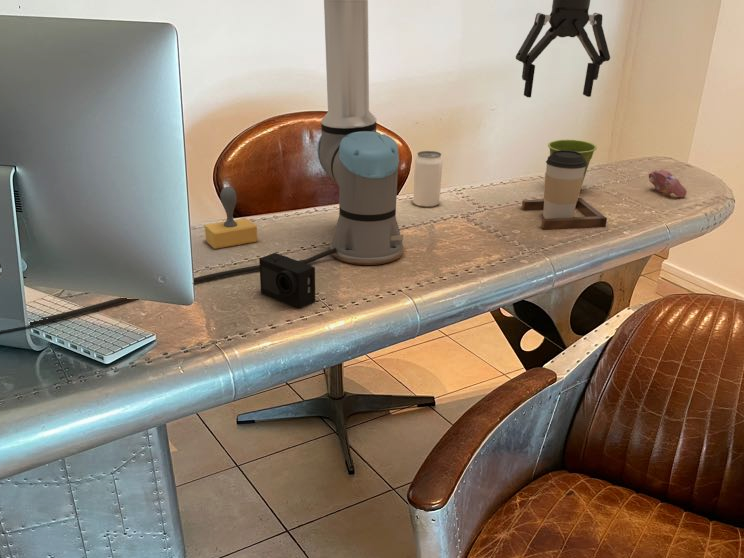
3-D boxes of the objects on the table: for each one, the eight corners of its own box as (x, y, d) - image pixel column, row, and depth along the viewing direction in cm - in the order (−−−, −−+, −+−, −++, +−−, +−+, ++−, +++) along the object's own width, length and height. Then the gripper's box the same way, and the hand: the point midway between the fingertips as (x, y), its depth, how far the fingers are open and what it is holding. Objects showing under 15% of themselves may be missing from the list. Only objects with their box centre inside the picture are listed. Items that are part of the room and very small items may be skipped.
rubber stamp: (214, 249, 172) (210, 193, 165) (205, 241, 176) (200, 186, 170) (258, 242, 175) (255, 187, 169) (247, 233, 180) (244, 180, 173)
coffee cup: (574, 211, 193) (585, 147, 185) (580, 224, 185) (592, 157, 177) (535, 210, 194) (545, 146, 186) (540, 222, 186) (550, 156, 178)
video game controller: (648, 193, 210) (643, 170, 206) (664, 184, 210) (658, 161, 206) (673, 205, 202) (668, 181, 198) (689, 195, 202) (684, 171, 198)
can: (444, 205, 196) (447, 155, 190) (420, 208, 194) (423, 158, 188) (431, 198, 202) (435, 149, 195) (408, 201, 200) (411, 151, 193)
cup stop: (543, 229, 182) (544, 220, 181) (521, 208, 195) (522, 200, 194) (605, 226, 184) (607, 218, 183) (579, 205, 197) (581, 197, 196)
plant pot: (538, 182, 213) (544, 139, 207) (583, 183, 212) (590, 139, 206) (546, 196, 203) (552, 151, 197) (594, 197, 202) (602, 152, 196)
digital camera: (255, 294, 152) (253, 259, 148) (276, 286, 155) (274, 251, 152) (294, 311, 146) (293, 274, 142) (315, 301, 149) (315, 266, 146)
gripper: (623, -14, 171) (604, 91, 182) (509, -15, 168) (497, 93, 179) (639, -11, 165) (618, 98, 176) (520, -11, 162) (507, 100, 173)
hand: (557, 96), depth 178 cm, fingers open, 13 cm apart
